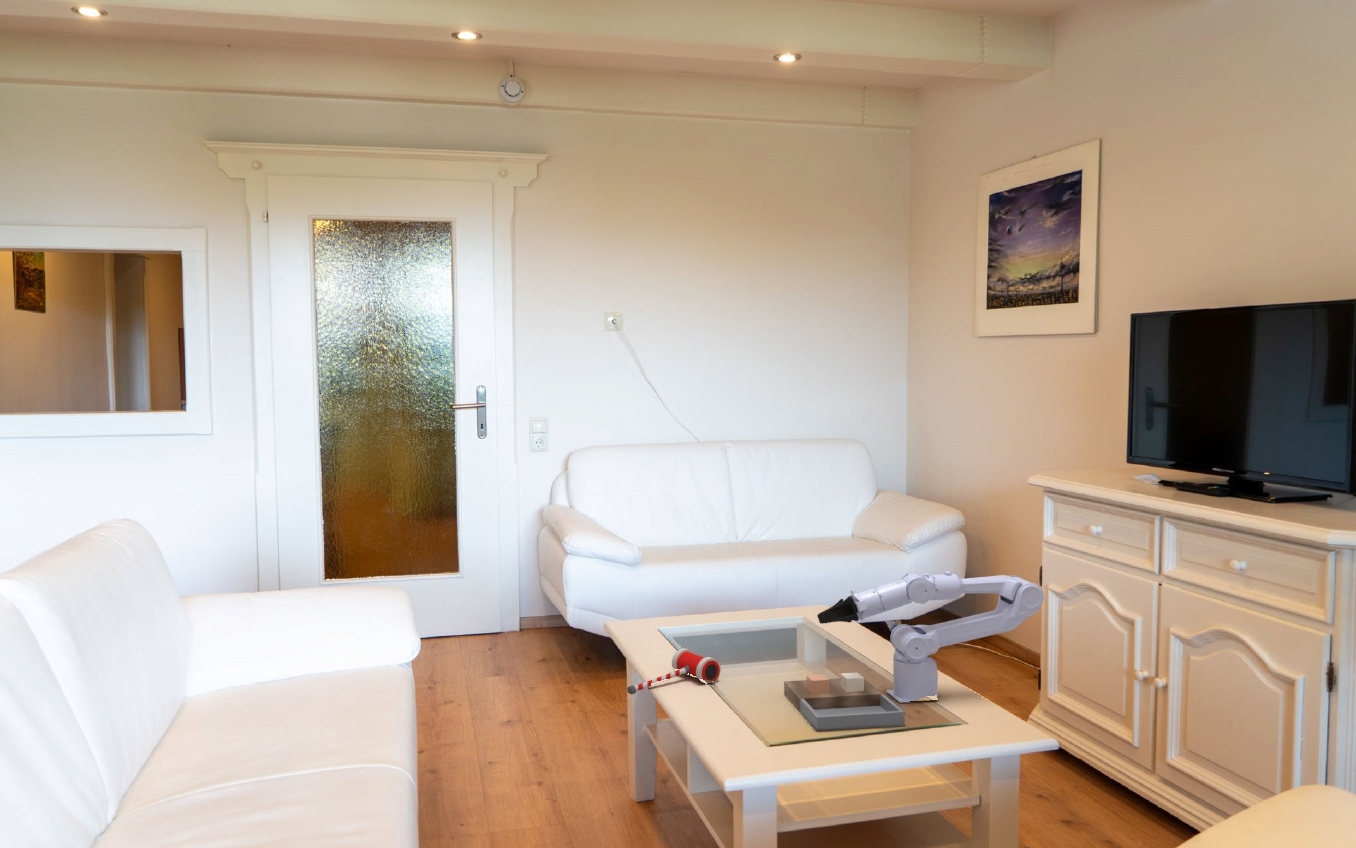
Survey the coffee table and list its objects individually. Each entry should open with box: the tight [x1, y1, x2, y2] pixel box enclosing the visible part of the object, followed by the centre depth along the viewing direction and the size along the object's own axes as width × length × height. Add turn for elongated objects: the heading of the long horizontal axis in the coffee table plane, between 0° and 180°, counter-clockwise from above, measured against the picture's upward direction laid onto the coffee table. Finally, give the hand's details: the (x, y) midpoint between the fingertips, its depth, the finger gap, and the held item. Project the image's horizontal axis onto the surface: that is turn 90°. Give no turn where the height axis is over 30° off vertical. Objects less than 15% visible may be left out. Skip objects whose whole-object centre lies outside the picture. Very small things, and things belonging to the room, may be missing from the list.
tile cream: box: [840, 672, 865, 692], centre depth 216 cm, size 4×4×3 cm
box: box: [799, 693, 906, 733], centre depth 205 cm, size 19×12×3 cm, turn 100°
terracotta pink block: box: [806, 673, 830, 694], centre depth 215 cm, size 4×4×3 cm
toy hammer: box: [626, 648, 722, 695], centre depth 230 cm, size 23×12×6 cm, turn 127°
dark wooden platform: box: [783, 677, 884, 713], centre depth 218 cm, size 19×12×3 cm, turn 100°
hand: (821, 618), depth 217 cm, fingers open, 7 cm apart
